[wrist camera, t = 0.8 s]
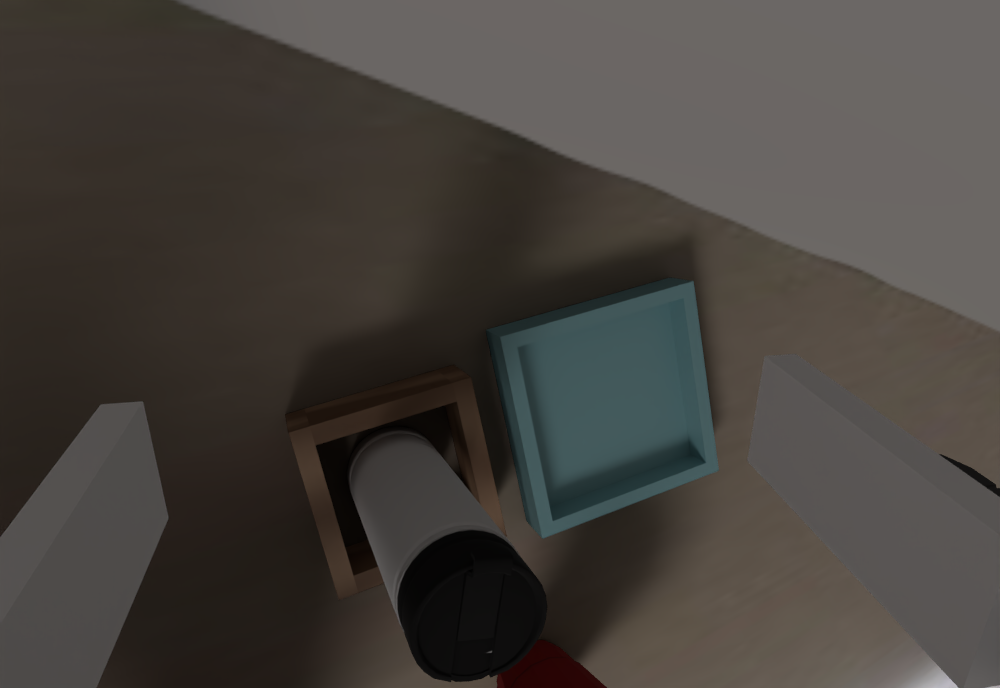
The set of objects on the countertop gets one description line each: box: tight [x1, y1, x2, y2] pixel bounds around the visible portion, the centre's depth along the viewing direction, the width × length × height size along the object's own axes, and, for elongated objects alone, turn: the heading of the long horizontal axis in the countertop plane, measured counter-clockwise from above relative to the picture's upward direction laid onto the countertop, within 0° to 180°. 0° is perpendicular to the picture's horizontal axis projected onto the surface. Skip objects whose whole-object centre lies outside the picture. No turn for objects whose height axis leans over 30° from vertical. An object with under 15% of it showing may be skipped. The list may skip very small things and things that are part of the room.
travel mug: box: [347, 426, 547, 682], centre depth 38 cm, size 6×7×20 cm
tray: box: [486, 278, 719, 539], centre depth 51 cm, size 15×15×3 cm
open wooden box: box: [285, 365, 507, 600], centre depth 46 cm, size 12×12×4 cm
